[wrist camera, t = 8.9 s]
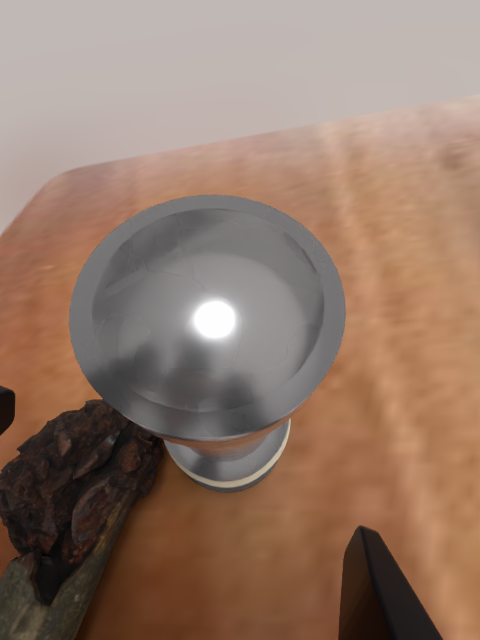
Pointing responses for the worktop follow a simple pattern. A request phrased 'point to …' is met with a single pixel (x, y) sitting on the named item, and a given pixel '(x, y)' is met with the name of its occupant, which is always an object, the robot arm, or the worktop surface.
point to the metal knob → (209, 327)
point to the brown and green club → (68, 515)
